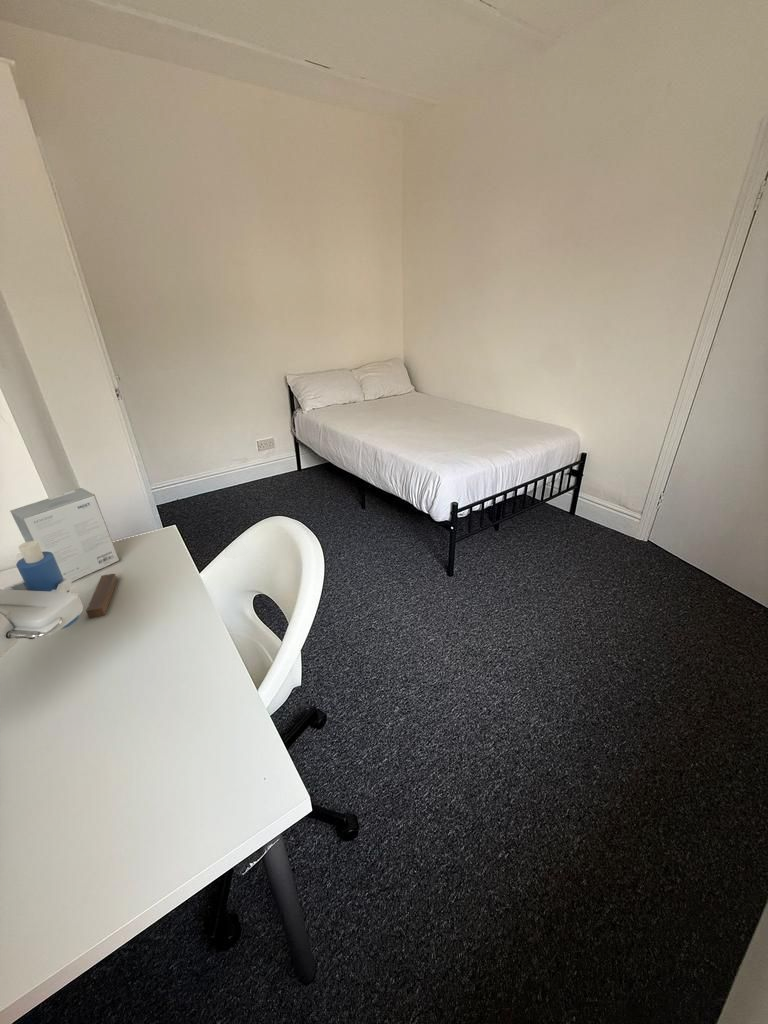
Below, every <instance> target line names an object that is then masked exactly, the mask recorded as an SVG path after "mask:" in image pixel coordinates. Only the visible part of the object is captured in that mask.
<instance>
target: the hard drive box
mask: <svg viewBox="0 0 768 1024" xmlns="http://www.w3.org/2000/svg"><path fill="white" fill-rule="evenodd" d="M9 513H10V514H11V516H12V518H13V520H14V522H15V524H16V527H17V528H18V530H19V532H20V534H21V537H22V538H23V540H24V543H26V542H30V541H37V542H38V544H39V547H40V549H41V551H42V552H51V553H53V555H54V557H55V560H56V562H57V564H58V567H59V569H60V571H61V574H62V576H63V578H64V579H70V580H71V582H75V581H77V580H79V579H80V578H81V579H82V578H83V577H85V576H88V575H90V574H92V573H94V572H97V571H99V570H101V569H104V568H106V567H108V566H110V565H113V564H115V563H117V562H119V561H120V557H119V554H118V553H117V549H116V548H115V545H114V543H113V540H112V537H111V534H110V532H109V530H108V526H107V524H106V521H105V518H104V516H103V513H102V511H101V508H100V505H99V502H98V500H97V497H96V494H95V493H92V492H90V491H88V490H87V489H85V488H83V487H80V488H76V489H73V490H69V491H67V492H63V493H61V494H57V495H54V496H50V497H48V498H45V499H41V500H39V501H36V502H32V503H29V504H26V505H23V506H20V507H17V508H14V509H11V510H9Z"/></svg>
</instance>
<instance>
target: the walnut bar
mask: <svg viewBox="0 0 768 1024" xmlns="http://www.w3.org/2000/svg"><path fill="white" fill-rule="evenodd" d="M116 575H117V574H116V573H110V574H104V575H101V576H100V578H99V580H98V582H97V585H96V587H95V589H94V592H93V595H92V597H91V599H90V600H89V601H90V602H89V603H88V606H87V607H86V611H85V612H86V614H87V617H88V618H89V619H91V618H97V617H102V616H105V614H106V611H107V609H108V606H109V603H110V601H111V599H112V595H113V592H114V590H115V587H116V585H117V582H118V578H117V576H116Z"/></svg>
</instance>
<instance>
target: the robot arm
mask: <svg viewBox="0 0 768 1024" xmlns="http://www.w3.org/2000/svg"><path fill="white" fill-rule="evenodd" d="M55 585H56V587H57V589H56V590H52V591H29V590H28V588H27V586H26V584H25V582H24V580H23V579H22V581H20V582H17V583H13V584H12V585H8V586H6V587H4V588H0V659H1V658H2V657H3V656H5V655H6V654H7V653H8V652H9V651H10V650H11V649H13V648H14V647H15V646H16V645H17V644H18V641H19V639H27V640H38V639H39V638H45V637H49V636H52V635H53V634H55V633H57V632H58V631H60V630H62V629H61V628H63V627H64V626H65V625H67V624H68V623H69V622H71V621H72V620H73V619H74V618H76V617H77V616H78V615H79V616H80V615H81V614H82V613H83V611H84V605H83V602H82V600H81V597H80V595H79V594H78V593H77V592H72V591H70V589H72V588H73V583H72V582H71V580H70V579H61V580H60V581H58V582H57V583H55ZM68 590H69V592H67V591H68ZM63 629H64V628H63Z"/></svg>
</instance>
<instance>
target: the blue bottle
mask: <svg viewBox="0 0 768 1024" xmlns="http://www.w3.org/2000/svg"><path fill="white" fill-rule="evenodd" d="M18 550H19V552H20V553H21V556H22V558H21V559H18V561H17V562H16V565H15V567H16V568H17V570H18V572H19V574H20V576H21V578H22V581H23V580H24V582H25V584H26V586H27V588H28V590H29V591H52V590H56V589H57V587H56V585H55V583H57V582H58V581H60V580H61V579H64V578H63V576H62V574H61V571H60V569H59V567H58V564H57V562H56V560H55V557H54V555H53V553H51V552H42V551H41V549H40V547H39V544H38V542H37V541H30V542H23V543H21V544H20V545H18ZM67 592H70V589H69V590H68V591H67ZM79 618H80V614H79V615H78V616H77V617H76V618H74V619H73V620H72V621H71V622H69V623H68V624H67V625H65V626H64V627H63V628H61V629H60V630H63V629H66V628H68V627H70V626H72V625H73V624H75V623H76V622H77V621H78V620H79Z"/></svg>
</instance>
